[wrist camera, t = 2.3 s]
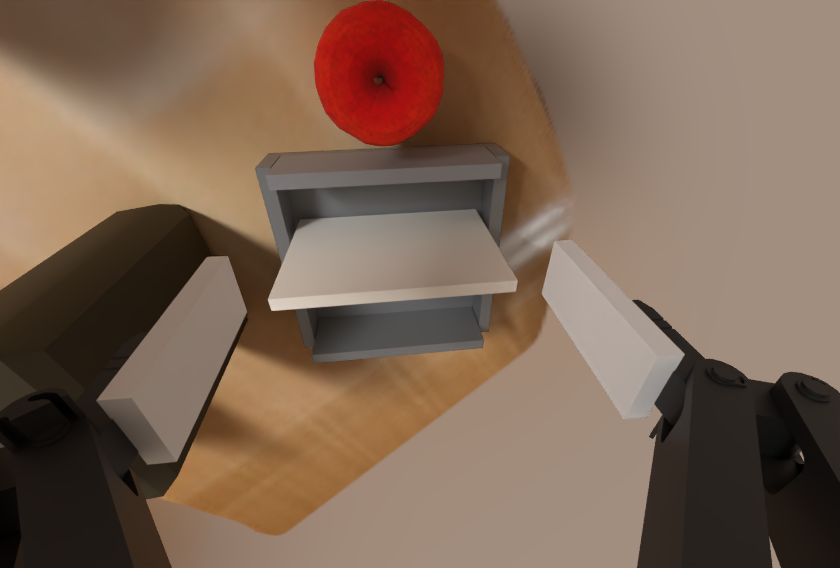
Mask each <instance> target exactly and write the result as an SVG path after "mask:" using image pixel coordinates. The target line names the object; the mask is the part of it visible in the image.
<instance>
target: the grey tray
mask: <svg viewBox="0 0 840 568" xmlns="http://www.w3.org/2000/svg"><path fill="white" fill-rule="evenodd" d="M509 161H510V155H508V154H507V153H506V152H505V151H504V150H503V149H502V148H500V147H499V146H498V145H497V144H496V143H487V144H465V145H443V146H421V147H399V148H377V149H356V150H334V151H312V152H290V153H269V154H268V155H267V156H266V157H265V158H264V159H263V160H262V161H261V162H260V163H259V164H258V166H257V167H256V168H255V170H256V174H257V177H258V181H259V184H260V188H261V192H262V195H263V199H264V202H265V206H266V209H267V213H268V217H269V220H270V224H271V227H272V231H273V234H274V238H275V242H276V245H277V249H278V252H279V256H280V259H281V263H283V261H284V258H285V256H286V253H287V251H288V249H289V246H290V244H291V241H292V239H293V236H294V234H295V231H296V229H297V226H298V224H299V221H300V219H317V218H334V217H350V216H367V215H384V214H400V213H417V212H434V211H450V210H467V209H476V211H477V212H478V214H479V216H480V218H481V219H482V221H483V223H484V224H485V226H486V228H487V229H488V231H489V233H490V234H491V236H492V238H493V239H494V241H495V243H496V244H497V246H498V248H499V242H500V234H501V226H502V218H503V209H504V201H505V193H506V185H507V177H508V169H509ZM492 299H493V294H481V295H468V296H455V297H443V298H430V299H417V300H404V301H392V302H379V303H366V304H354V305H341V306H328V307H316V308H303V309H295V313H296V316H297V320H298V324H299V327H300V331H301V334H302V338H303V341H304V345H305V348H308V347H313V352H312V358H313V362H314V363H323V362H334V361H345V360H356V359H367V358H378V357H389V356H400V355H411V354H422V353H433V352H444V351H455V350H466V349H477V348H483V343H484V339H483V336H482V334H481V332H489V323H490V315H491V307H492Z"/></svg>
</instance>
